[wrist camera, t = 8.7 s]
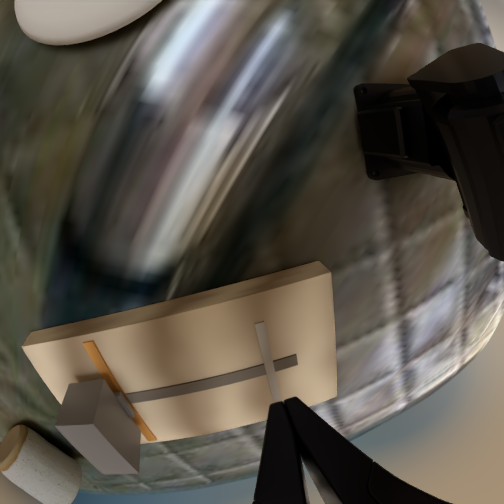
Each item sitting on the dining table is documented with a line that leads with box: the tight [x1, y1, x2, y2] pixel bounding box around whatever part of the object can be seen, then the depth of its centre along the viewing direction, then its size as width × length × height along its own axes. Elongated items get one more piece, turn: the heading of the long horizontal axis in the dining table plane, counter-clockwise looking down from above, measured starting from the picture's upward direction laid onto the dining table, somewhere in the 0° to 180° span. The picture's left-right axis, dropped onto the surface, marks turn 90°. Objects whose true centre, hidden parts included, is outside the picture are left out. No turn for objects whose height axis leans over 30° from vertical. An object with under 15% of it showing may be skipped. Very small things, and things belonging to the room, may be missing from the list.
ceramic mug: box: [0, 425, 82, 504], centre depth 18 cm, size 11×8×8 cm
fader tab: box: [55, 379, 141, 474], centre depth 16 cm, size 4×6×4 cm, turn 11°
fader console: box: [22, 261, 337, 444], centre depth 20 cm, size 22×12×2 cm, turn 101°
